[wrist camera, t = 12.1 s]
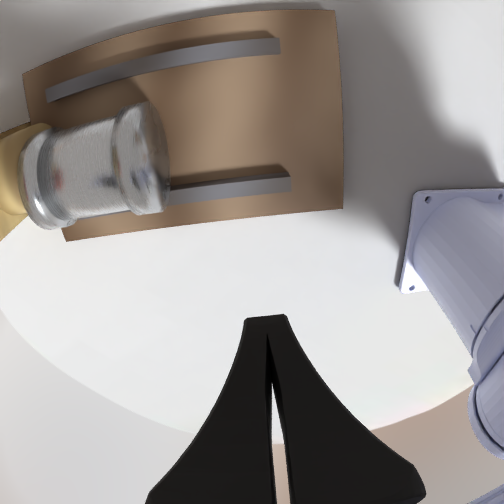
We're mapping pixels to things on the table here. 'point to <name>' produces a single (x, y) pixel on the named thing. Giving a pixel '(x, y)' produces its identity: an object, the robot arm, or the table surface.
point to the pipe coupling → (96, 168)
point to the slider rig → (205, 115)
